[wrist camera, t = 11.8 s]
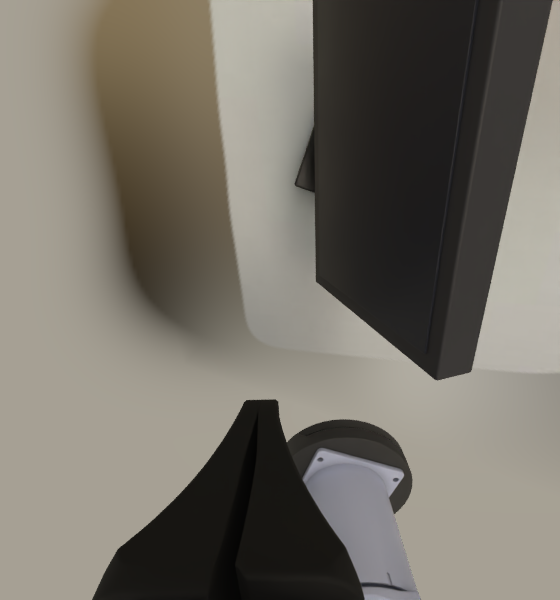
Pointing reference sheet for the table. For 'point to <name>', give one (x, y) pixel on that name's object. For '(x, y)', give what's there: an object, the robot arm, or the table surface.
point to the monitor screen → (419, 160)
